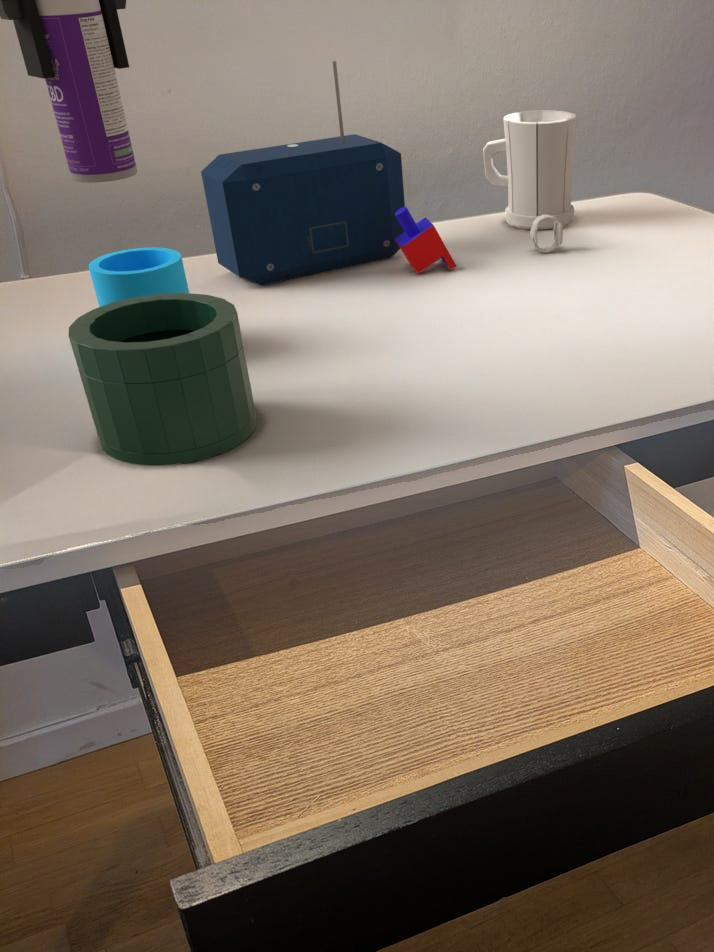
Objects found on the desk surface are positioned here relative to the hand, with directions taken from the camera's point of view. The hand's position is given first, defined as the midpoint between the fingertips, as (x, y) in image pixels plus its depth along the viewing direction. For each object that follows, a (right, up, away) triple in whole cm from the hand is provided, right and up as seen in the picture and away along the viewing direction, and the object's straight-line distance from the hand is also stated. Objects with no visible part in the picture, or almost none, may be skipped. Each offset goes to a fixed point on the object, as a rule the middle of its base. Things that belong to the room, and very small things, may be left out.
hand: (79, 70), depth 68 cm
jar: (+4, -23, +11) cm, 25 cm away
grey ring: (+36, +6, +47) cm, 59 cm away
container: (0, -5, +4) cm, 7 cm away
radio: (+9, +4, +46) cm, 47 cm away
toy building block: (+22, +3, +43) cm, 48 cm away
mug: (-4, -11, +27) cm, 29 cm away
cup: (+35, +14, +57) cm, 68 cm away
